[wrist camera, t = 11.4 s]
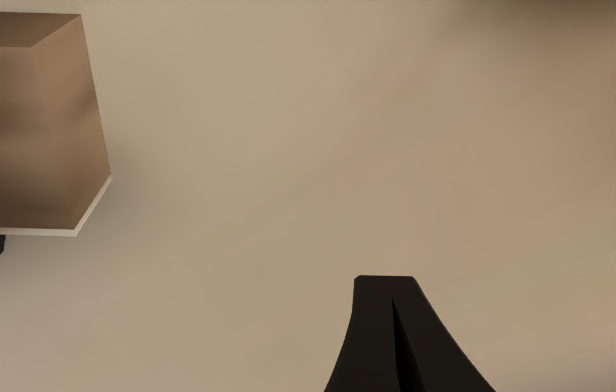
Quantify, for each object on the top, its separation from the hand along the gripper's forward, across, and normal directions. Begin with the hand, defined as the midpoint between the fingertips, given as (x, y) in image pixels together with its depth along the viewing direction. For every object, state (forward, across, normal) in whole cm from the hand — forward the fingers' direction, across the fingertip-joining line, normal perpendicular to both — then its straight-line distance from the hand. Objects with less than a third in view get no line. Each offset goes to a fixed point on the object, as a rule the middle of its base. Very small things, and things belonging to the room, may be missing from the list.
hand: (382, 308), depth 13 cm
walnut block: (+8, +12, +2) cm, 15 cm away
